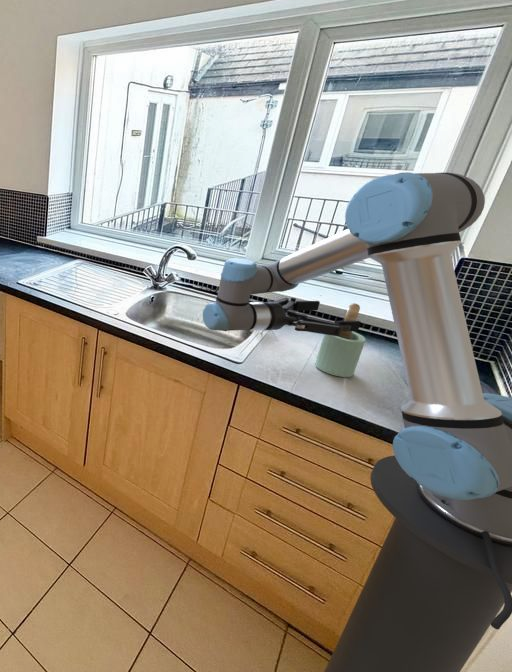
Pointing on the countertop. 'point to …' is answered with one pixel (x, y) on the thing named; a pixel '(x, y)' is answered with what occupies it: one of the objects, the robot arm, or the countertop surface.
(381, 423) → the countertop surface
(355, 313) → the brush
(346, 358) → the mint green pipe segment
